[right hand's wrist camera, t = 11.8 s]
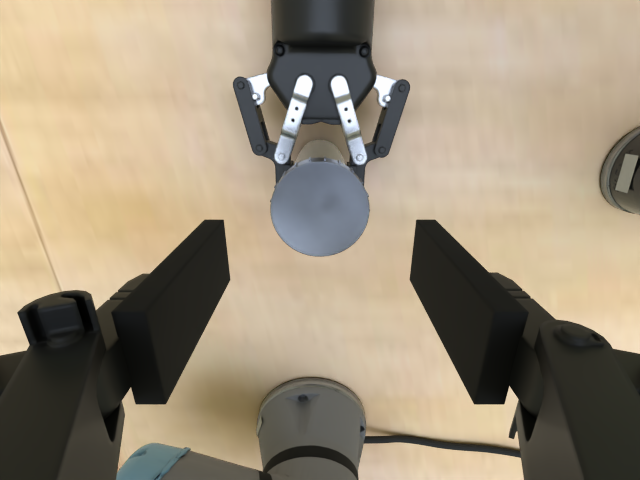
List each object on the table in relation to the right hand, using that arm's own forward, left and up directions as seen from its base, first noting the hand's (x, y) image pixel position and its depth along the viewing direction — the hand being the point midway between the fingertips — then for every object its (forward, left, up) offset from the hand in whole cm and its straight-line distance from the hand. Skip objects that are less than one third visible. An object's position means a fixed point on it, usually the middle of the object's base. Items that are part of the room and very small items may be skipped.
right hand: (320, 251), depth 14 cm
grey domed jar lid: (0, 0, -6) cm, 6 cm away
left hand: (-1, +2, -17) cm, 17 cm away
